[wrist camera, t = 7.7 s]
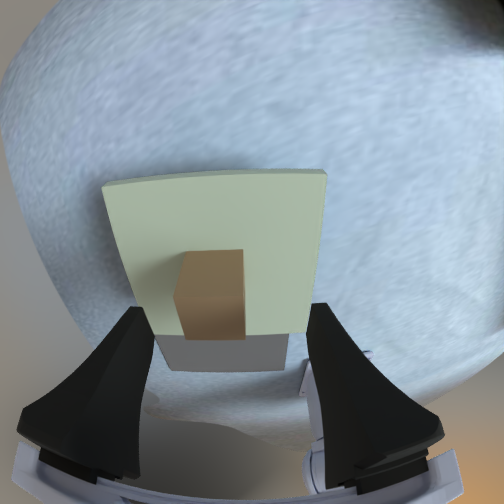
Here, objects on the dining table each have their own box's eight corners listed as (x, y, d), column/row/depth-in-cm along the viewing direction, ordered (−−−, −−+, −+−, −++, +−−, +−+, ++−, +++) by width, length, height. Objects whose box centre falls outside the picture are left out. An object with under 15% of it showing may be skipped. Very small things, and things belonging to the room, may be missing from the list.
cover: (303, 323, 19) (313, 374, 15) (152, 325, 19) (139, 374, 15) (322, 169, 12) (353, 205, 9) (107, 181, 12) (65, 219, 9)
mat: (283, 368, 29) (284, 370, 28) (171, 369, 29) (171, 370, 28) (294, 284, 21) (294, 286, 21) (136, 287, 21) (135, 289, 21)
